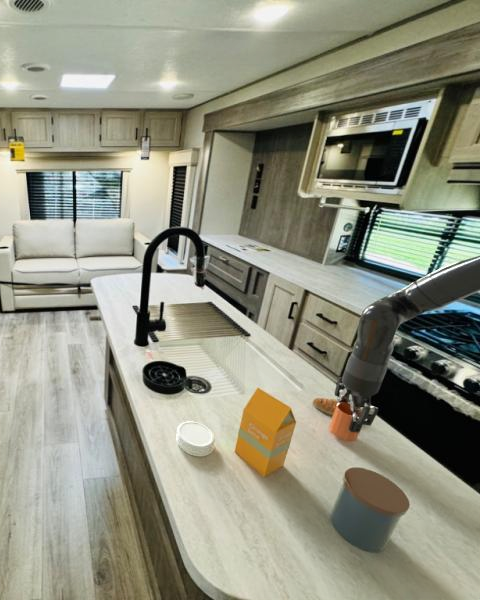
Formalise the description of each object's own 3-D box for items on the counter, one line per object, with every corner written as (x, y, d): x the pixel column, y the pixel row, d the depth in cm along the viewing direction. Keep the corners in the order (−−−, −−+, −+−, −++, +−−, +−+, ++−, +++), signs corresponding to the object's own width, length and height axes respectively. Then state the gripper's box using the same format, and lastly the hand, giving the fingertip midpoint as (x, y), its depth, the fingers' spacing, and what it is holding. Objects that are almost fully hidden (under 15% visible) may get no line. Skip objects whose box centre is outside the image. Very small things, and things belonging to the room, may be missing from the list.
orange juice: (253, 441, 88) (267, 383, 81) (283, 465, 80) (302, 403, 73) (233, 451, 85) (246, 391, 78) (263, 477, 77) (281, 414, 70)
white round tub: (221, 451, 85) (223, 442, 84) (190, 461, 82) (191, 451, 81) (197, 426, 94) (199, 417, 93) (169, 434, 91) (170, 425, 90)
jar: (369, 511, 69) (387, 471, 65) (399, 559, 61) (423, 517, 56) (320, 502, 71) (335, 463, 67) (342, 548, 63) (361, 506, 58)
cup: (349, 425, 91) (357, 403, 88) (362, 442, 85) (371, 419, 82) (324, 422, 92) (331, 400, 89) (335, 439, 86) (343, 416, 84)
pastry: (311, 410, 99) (314, 401, 98) (311, 399, 104) (314, 389, 103) (349, 422, 94) (353, 412, 92) (347, 409, 99) (351, 400, 98)
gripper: (401, 390, 74) (378, 444, 80) (364, 358, 87) (347, 406, 93) (363, 387, 76) (344, 439, 82) (333, 356, 89) (319, 403, 95)
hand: (346, 421), depth 87 cm, fingers closed on cup, 6 cm apart
